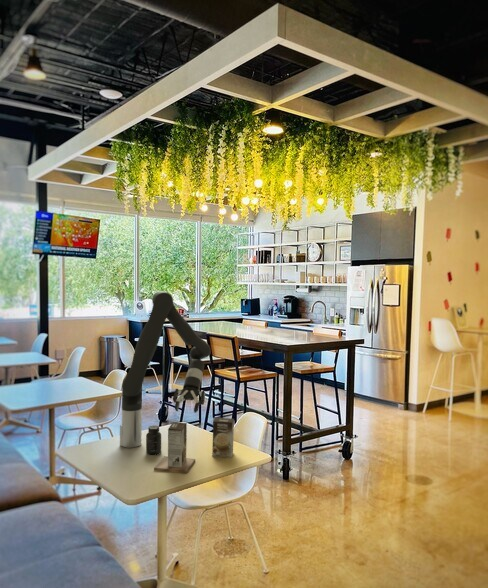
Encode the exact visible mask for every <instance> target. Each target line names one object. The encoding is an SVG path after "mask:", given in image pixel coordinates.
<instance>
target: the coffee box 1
mask: <svg viewBox="0 0 488 588" xmlns="http://www.w3.org/2000/svg"><path fill="white" fill-rule="evenodd" d="M187 424H188V423H187V422H179V421H178V422H177V421H176V422H175V421H173V422H172V423H171V424H170V426H169V427H168V428H167V431H168V433H167V456H168V467H182V466H183V464H184V462H185V460H186V458H187V439H188V438H187V432H188V431H187V429H188V428H187V427H188V425H187Z"/></svg>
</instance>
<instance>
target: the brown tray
mask: <svg viewBox="0 0 488 588" xmlns="http://www.w3.org/2000/svg"><path fill="white" fill-rule="evenodd" d="M195 462H196V458H192V457H191V458H189V457H186V460H185V462H184V464H183V466H182V467H168V455H166V456H165V455H164V456H163V457H162V458H161V459H160V460H159V462H158V463H157V464H156V465H155V466H154V467H153V471H155V472H164V473H165V472H166V473H177V474H187V473H189V471H190V470H191V468H192V467H193V465H194V464H195Z"/></svg>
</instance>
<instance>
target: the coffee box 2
mask: <svg viewBox="0 0 488 588" xmlns="http://www.w3.org/2000/svg"><path fill="white" fill-rule="evenodd" d="M212 424H213V425H212V449H211V450H212V453H211V456H212V457H215V458H216V457H217V458H230V459H231V458H233V454H234V435H235V433H234V431H235V427H234V426H235V419H234V418H228V417H216V416H215V417H214V419H213V423H212Z"/></svg>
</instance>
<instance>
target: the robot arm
mask: <svg viewBox="0 0 488 588" xmlns="http://www.w3.org/2000/svg"><path fill="white" fill-rule="evenodd" d="M151 300H152V309H151V312H150V315H149V318H148V320H147V322H146V323H145V325H144V327H143V329H141V330H142V331H141V332H140V334H139V336H138V339H137V342H136V345H135V348H134V353H133V357H132V362H131V364H130V368H129V370H128V372H127V374H126V376H125V377H124V378H123V379H122V383H121V390H122V391H121V392H122V393H121V395H122V398H121V425H120V426H119V446H121V447H124V448H137V447H140V446H141V445H142V441H143V439H142V433H143V432H142V429H143V428H142V427H143V425H142V423H143V419H142V418H143V417H142V415H143V413H142V412H143V383H144V380H145V376H146V372H147V370H148V368H149V365H150V363H151V362H152V359H153V357H154V355H155V352H156V350H157V347H158V345H159V341H160V339H161V335H162V333H163V332H162V331H163V328H164V325H165V322H166V319H167V320H168V322H169V323H170V324H171V326H172V327H173V329H174V330H175V332H176V333H177V334H178V336H179V337H180V339H181V340H182V341H183V343H184V344H186V346H193V347H192V348H191V349H190V351H189V366H188V370H187V373H186V375H185V379H184V383H183V388H182V389H179V388H176V389H175V390H174V393H173V396H172V401H173V403H174V409H175V412H178V411H179V408H180V404H181V403H182V402H184V401H193V400H194V408H193V413H197V412H198V411H199V407H200V406H203V405H205V397H206V391H205V390H201V391H200V388H201V385H202V381H203V374H204V371H205V370H204V369H205V363H204V361H203V359H205V358H209V357H210V355H211V353H212V351H211V346H210V345H209V344H208V343H207V341H205V340H204V339H203V338H202V337H200V336H199V335H198V334H197V333H196V332H195V330H194V329H193V327H192V326H191V325H190V323H188V322H187V320H186V319H185V318H184V317H183V316H182V315H181V314H180V312H179V311H178V309H177V307H176V306H175V305H174V304H175V303H174V299H173V296H172V294H170V292H167V291H165V290H160V291H157V292H155V293H154V295H153V296H152V299H151ZM199 396H200V400H199V399H198V397H199Z"/></svg>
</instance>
